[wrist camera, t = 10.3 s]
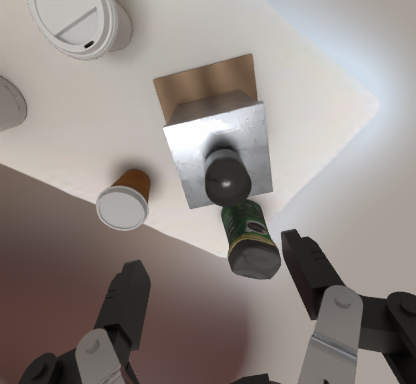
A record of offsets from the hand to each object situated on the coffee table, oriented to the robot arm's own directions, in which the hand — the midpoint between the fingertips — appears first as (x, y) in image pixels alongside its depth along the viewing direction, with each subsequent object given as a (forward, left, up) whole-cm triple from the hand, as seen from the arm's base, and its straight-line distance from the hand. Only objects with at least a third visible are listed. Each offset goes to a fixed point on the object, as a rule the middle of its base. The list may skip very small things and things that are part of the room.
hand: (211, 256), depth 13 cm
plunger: (+2, -3, -32) cm, 32 cm away
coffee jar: (+4, -25, -38) cm, 45 cm away
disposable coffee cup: (-18, -11, -38) cm, 43 cm away
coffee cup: (-11, +17, -38) cm, 43 cm away
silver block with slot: (+2, -4, -36) cm, 37 cm away
